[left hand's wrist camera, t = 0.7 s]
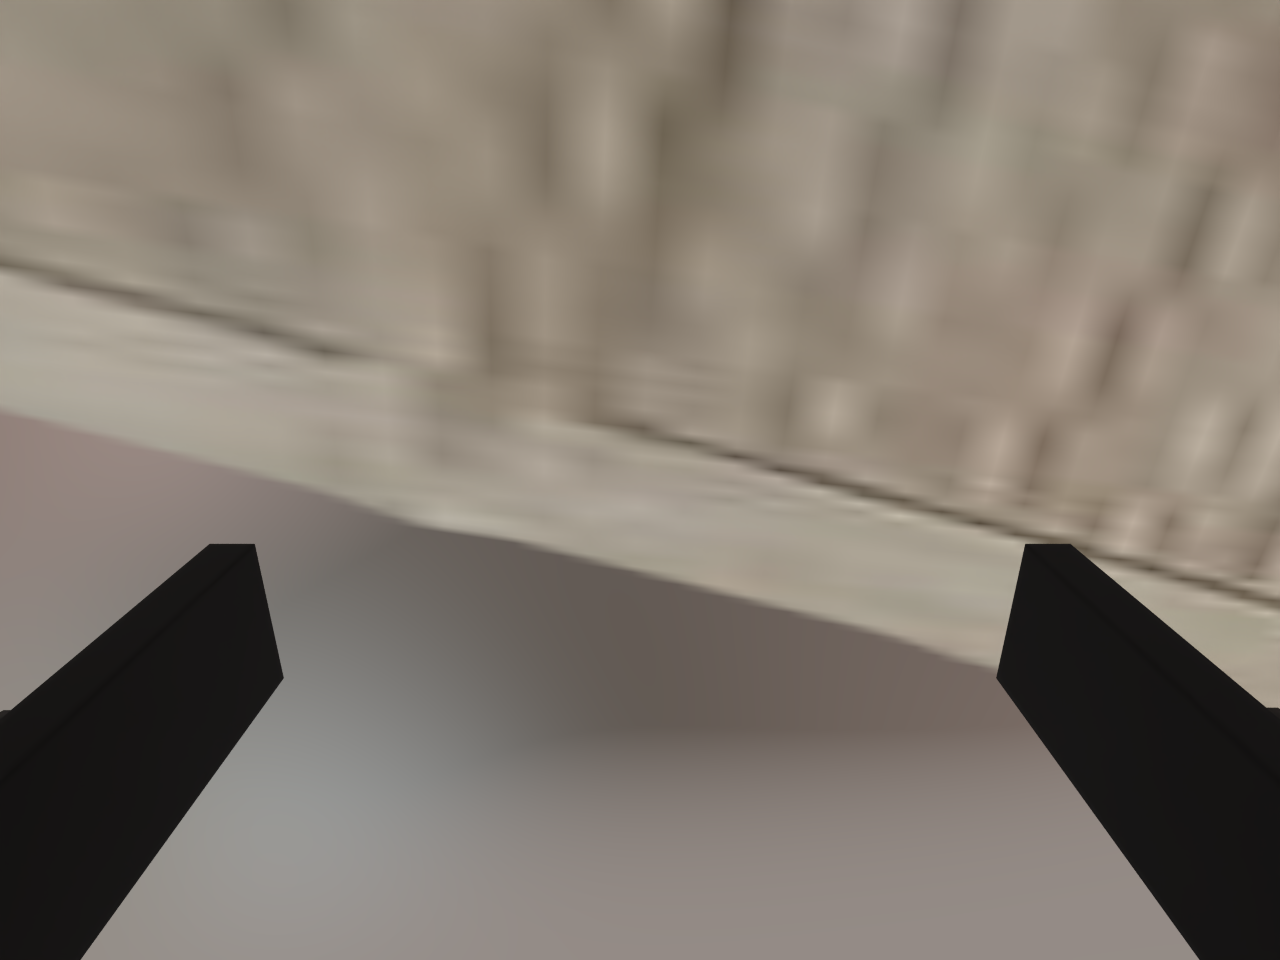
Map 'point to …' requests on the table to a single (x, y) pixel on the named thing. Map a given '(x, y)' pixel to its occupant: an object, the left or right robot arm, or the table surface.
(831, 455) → the table surface
